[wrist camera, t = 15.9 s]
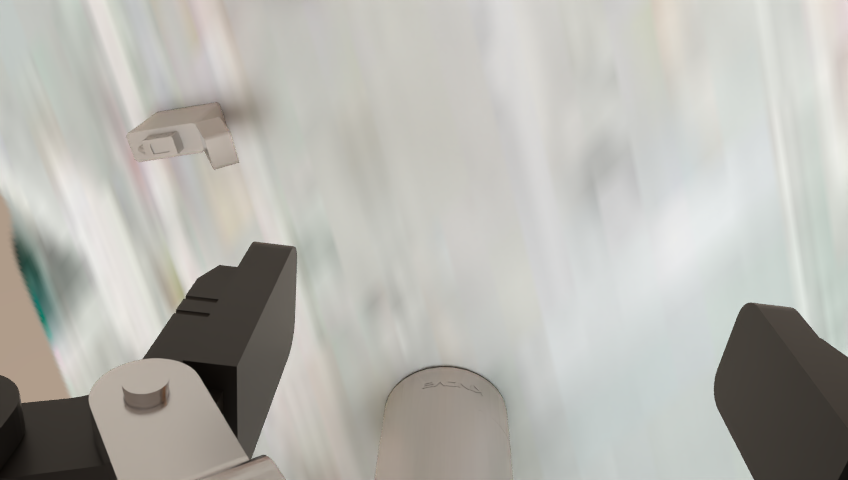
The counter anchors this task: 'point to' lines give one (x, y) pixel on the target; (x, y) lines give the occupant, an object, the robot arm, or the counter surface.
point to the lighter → (185, 135)
